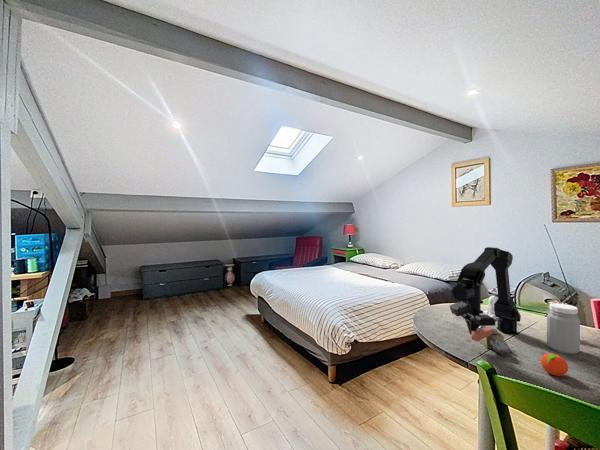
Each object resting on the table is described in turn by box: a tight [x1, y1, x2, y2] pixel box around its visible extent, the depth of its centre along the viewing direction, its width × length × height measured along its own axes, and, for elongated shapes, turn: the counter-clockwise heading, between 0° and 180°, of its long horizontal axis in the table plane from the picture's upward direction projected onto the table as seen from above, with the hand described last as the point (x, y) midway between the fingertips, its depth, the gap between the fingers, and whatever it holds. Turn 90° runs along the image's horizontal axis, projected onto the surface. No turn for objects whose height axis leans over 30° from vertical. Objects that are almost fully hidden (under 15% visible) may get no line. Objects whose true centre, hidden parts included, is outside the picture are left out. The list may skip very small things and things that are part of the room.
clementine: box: [540, 352, 569, 377], centre depth 93 cm, size 8×7×7 cm
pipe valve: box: [476, 326, 511, 356], centre depth 114 cm, size 20×6×6 cm, turn 170°
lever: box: [471, 326, 498, 342], centre depth 111 cm, size 16×4×3 cm, turn 122°
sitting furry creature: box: [480, 295, 499, 320], centre depth 147 cm, size 10×9×12 cm
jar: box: [546, 302, 581, 355], centre depth 110 cm, size 10×10×18 cm
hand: (471, 334), depth 111 cm, fingers closed
